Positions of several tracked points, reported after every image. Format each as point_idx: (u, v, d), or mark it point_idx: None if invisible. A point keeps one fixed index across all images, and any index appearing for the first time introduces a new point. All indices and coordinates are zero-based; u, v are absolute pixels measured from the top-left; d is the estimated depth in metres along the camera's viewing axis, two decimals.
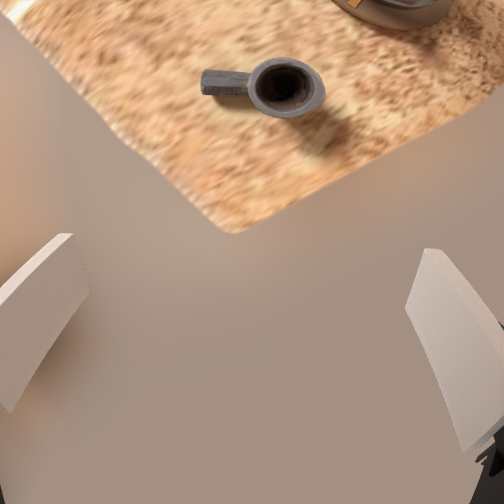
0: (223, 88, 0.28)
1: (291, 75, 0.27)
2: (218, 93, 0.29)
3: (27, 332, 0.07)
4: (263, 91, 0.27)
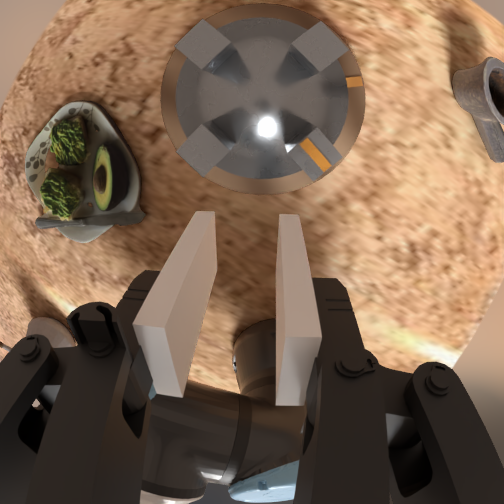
0: None
1: None
2: None
3: (195, 306, 0.09)
4: (498, 105, 0.20)
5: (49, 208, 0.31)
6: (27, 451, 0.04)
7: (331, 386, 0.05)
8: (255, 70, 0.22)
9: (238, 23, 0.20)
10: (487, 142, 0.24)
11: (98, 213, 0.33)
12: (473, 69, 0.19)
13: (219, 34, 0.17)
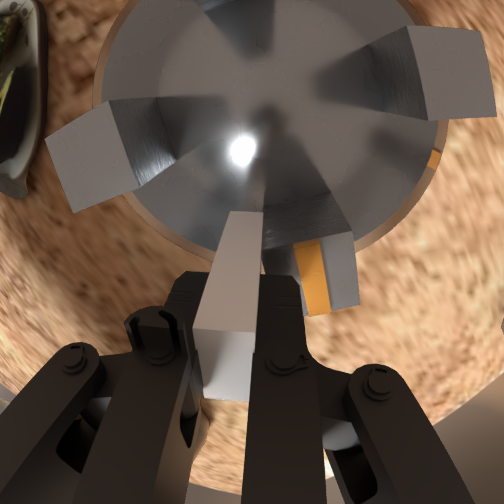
0: None
1: None
2: None
3: None
4: None
5: None
6: (64, 467, 0.04)
7: (261, 385, 0.05)
8: (287, 42, 0.09)
9: None
10: None
11: None
12: None
13: None
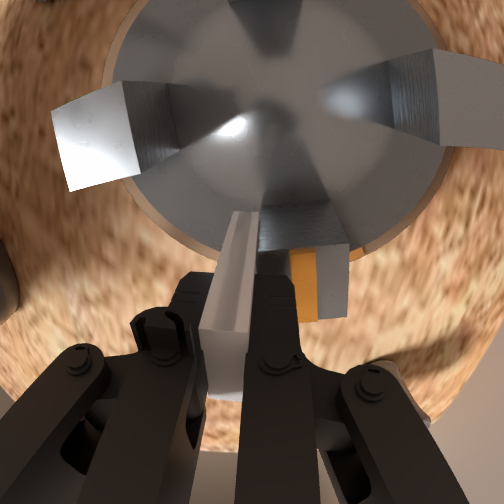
0: None
1: None
2: None
3: None
4: None
5: None
6: (68, 469, 0.04)
7: (254, 384, 0.05)
8: (308, 47, 0.09)
9: None
10: None
11: None
12: None
13: None
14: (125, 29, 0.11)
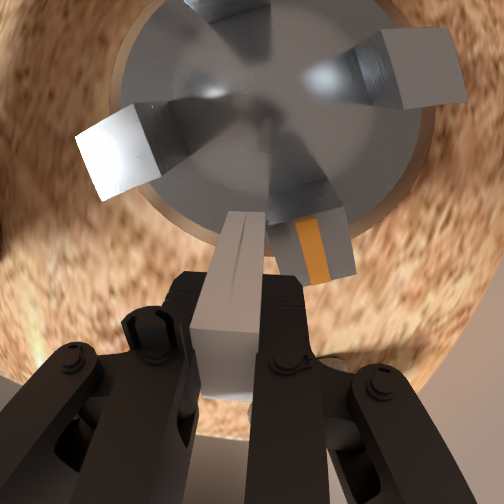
0: None
1: None
2: None
3: None
4: None
5: None
6: (62, 466, 0.04)
7: (264, 385, 0.05)
8: (283, 49, 0.11)
9: None
10: None
11: None
12: None
13: None
14: (146, 15, 0.13)
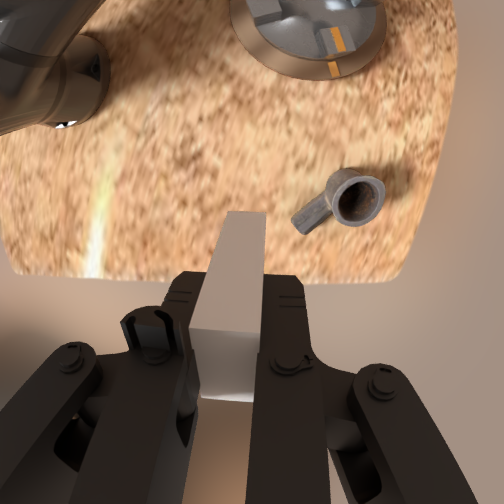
0: (316, 223, 0.39)
1: None
2: (315, 227, 0.40)
3: None
4: (343, 206, 0.37)
5: None
6: (61, 466, 0.04)
7: (265, 384, 0.05)
8: None
9: None
10: (305, 207, 0.40)
11: None
12: None
13: None
14: None
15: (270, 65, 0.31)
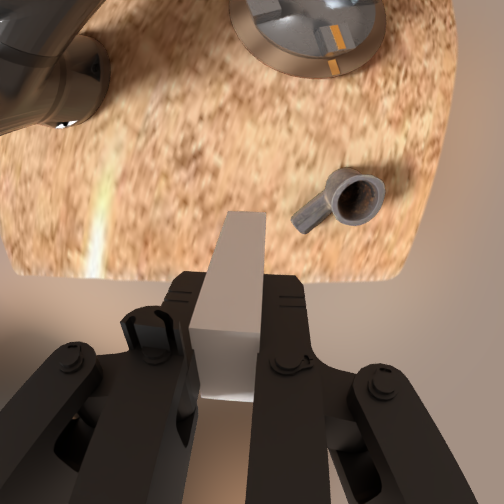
0: (316, 222, 0.39)
1: None
2: (314, 226, 0.40)
3: None
4: (343, 205, 0.37)
5: None
6: (61, 466, 0.04)
7: (265, 385, 0.05)
8: None
9: None
10: (305, 207, 0.40)
11: None
12: None
13: None
14: None
15: (270, 63, 0.31)
